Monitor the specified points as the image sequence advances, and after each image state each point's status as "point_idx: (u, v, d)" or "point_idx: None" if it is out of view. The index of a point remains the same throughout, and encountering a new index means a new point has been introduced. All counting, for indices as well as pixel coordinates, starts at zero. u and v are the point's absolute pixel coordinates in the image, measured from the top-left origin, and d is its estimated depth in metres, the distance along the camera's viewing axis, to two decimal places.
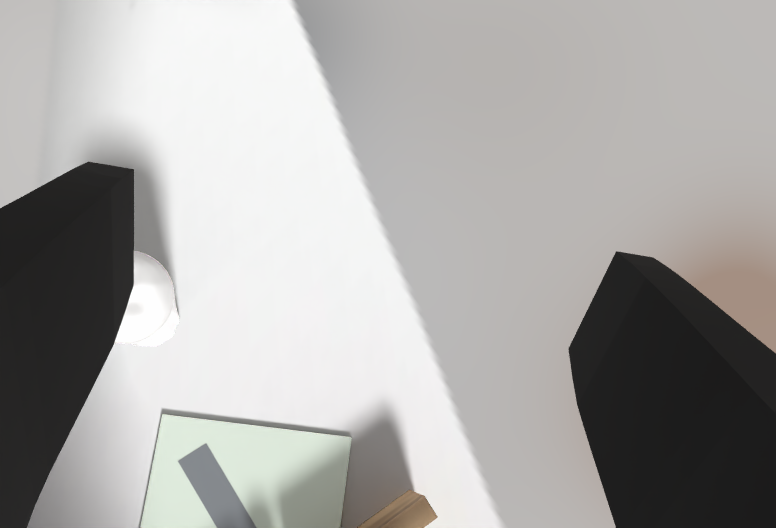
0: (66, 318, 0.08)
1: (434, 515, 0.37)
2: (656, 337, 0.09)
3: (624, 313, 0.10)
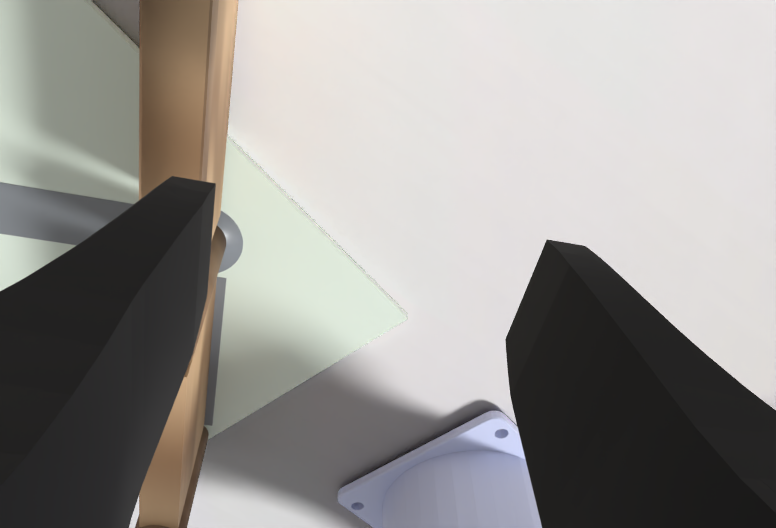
0: (166, 332, 0.08)
1: None
2: (577, 325, 0.09)
3: (551, 301, 0.10)
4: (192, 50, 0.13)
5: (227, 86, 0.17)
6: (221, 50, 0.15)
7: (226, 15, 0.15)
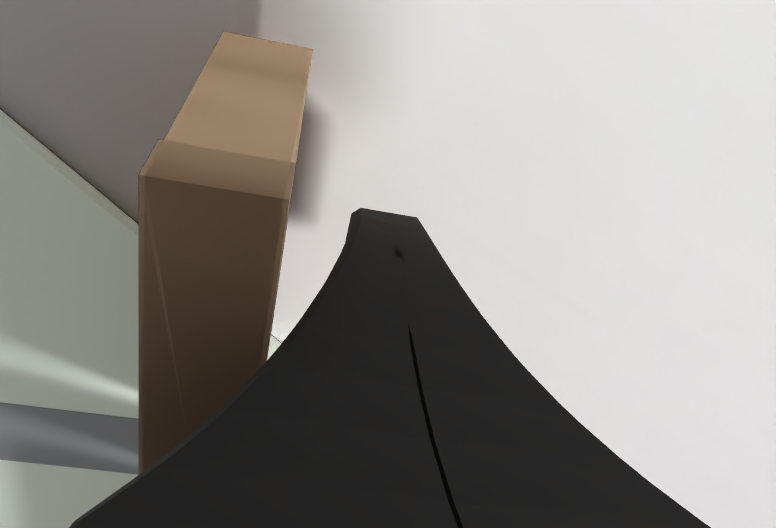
0: None
1: (267, 206, 0.06)
2: None
3: None
4: (236, 344, 0.07)
5: None
6: None
7: None
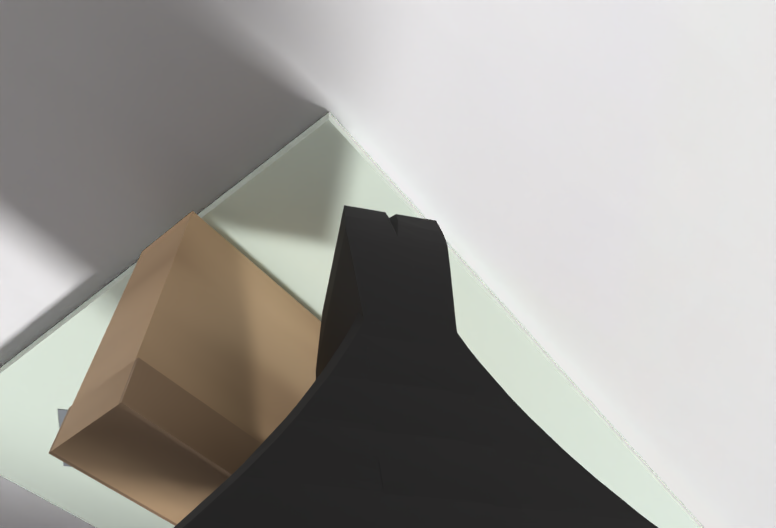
0: None
1: (117, 414, 0.08)
2: (343, 289, 0.08)
3: (337, 268, 0.09)
4: None
5: None
6: (287, 394, 0.10)
7: (257, 353, 0.10)
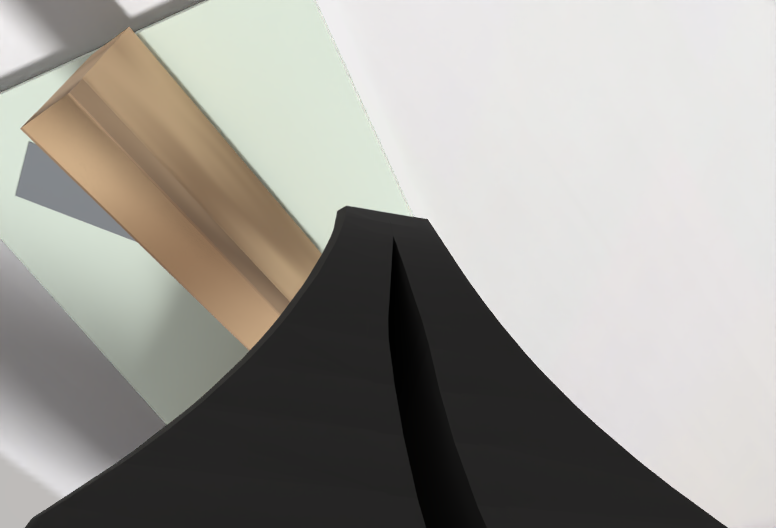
0: None
1: (66, 102, 0.13)
2: (393, 297, 0.08)
3: None
4: (128, 175, 0.14)
5: (232, 165, 0.17)
6: (180, 148, 0.15)
7: (163, 118, 0.15)
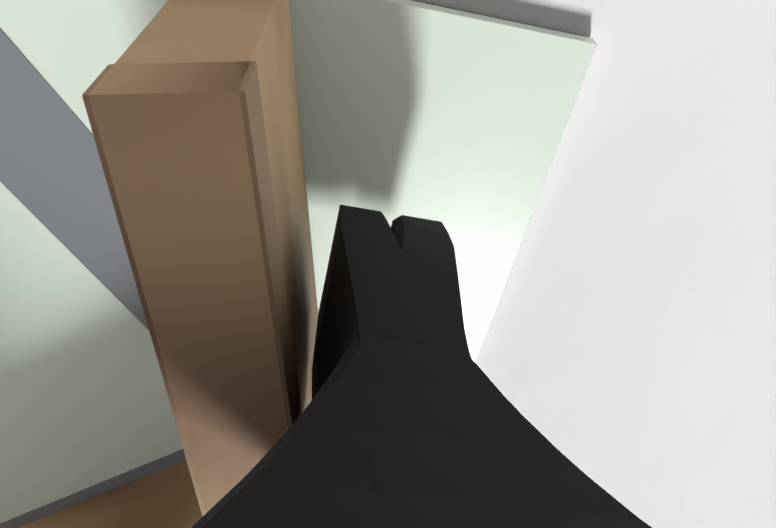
0: None
1: (224, 103, 0.06)
2: (339, 288, 0.08)
3: (333, 267, 0.09)
4: (237, 274, 0.07)
5: (306, 248, 0.10)
6: (289, 221, 0.08)
7: (286, 159, 0.08)
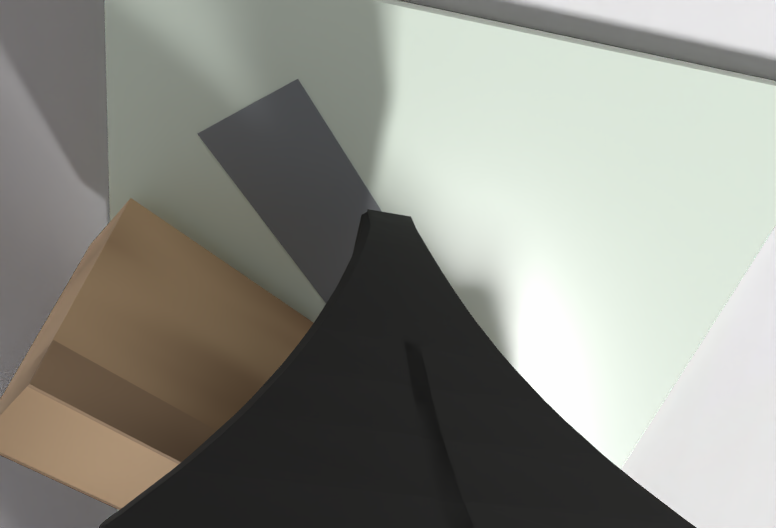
0: None
1: (29, 397, 0.07)
2: None
3: None
4: (157, 471, 0.08)
5: None
6: (234, 372, 0.10)
7: (201, 333, 0.10)
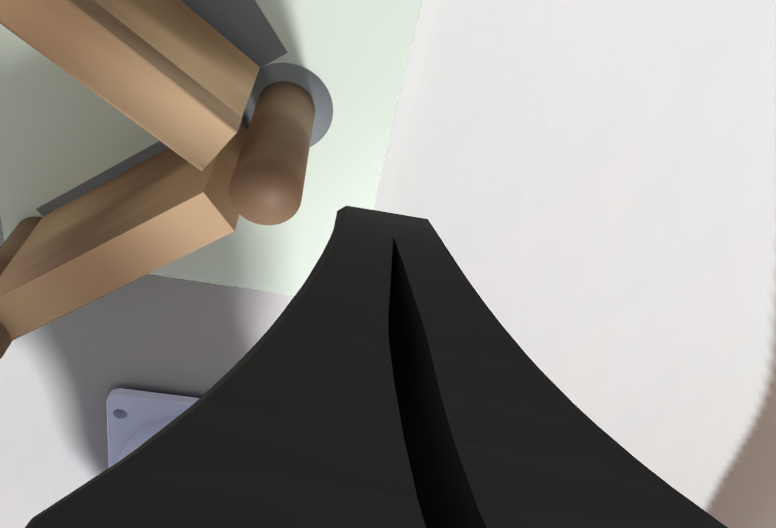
0: None
1: None
2: (393, 297, 0.08)
3: None
4: None
5: None
6: None
7: None
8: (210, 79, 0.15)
